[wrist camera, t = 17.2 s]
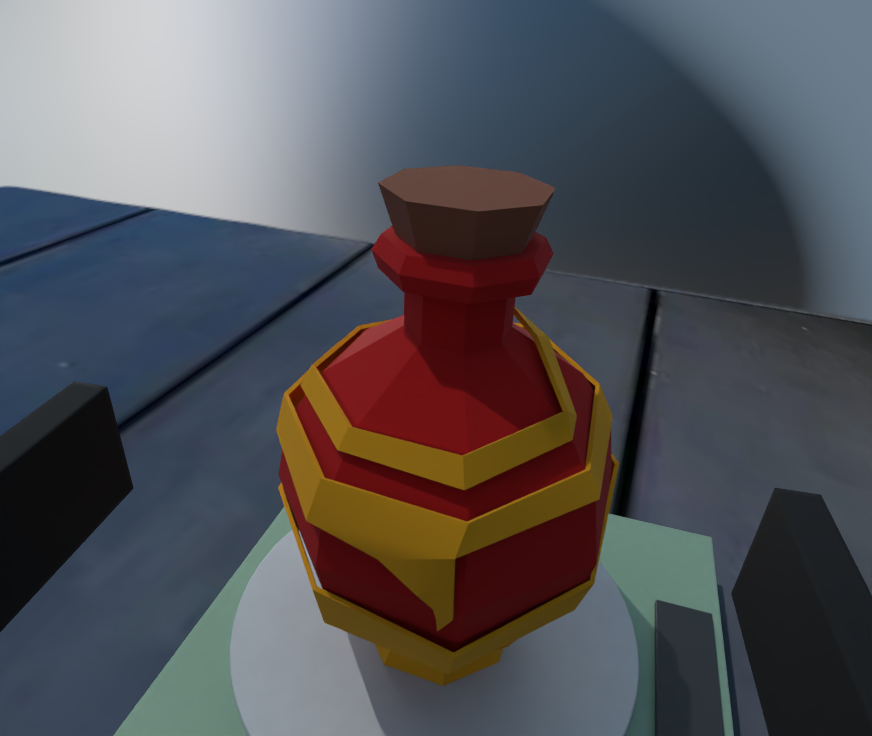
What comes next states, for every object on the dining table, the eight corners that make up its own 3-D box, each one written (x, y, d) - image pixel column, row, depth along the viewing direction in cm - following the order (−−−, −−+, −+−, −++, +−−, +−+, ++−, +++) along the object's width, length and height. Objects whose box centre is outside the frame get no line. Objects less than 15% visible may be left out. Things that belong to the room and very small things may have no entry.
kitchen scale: (697, 577, 28) (715, 526, 27) (738, 1085, 15) (779, 1042, 13) (329, 487, 32) (326, 438, 31) (101, 821, 19) (75, 765, 17)
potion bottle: (639, 609, 23) (767, 193, 15) (453, 855, 16) (518, 323, 8) (426, 476, 29) (442, 128, 21) (224, 614, 22) (141, 174, 14)
